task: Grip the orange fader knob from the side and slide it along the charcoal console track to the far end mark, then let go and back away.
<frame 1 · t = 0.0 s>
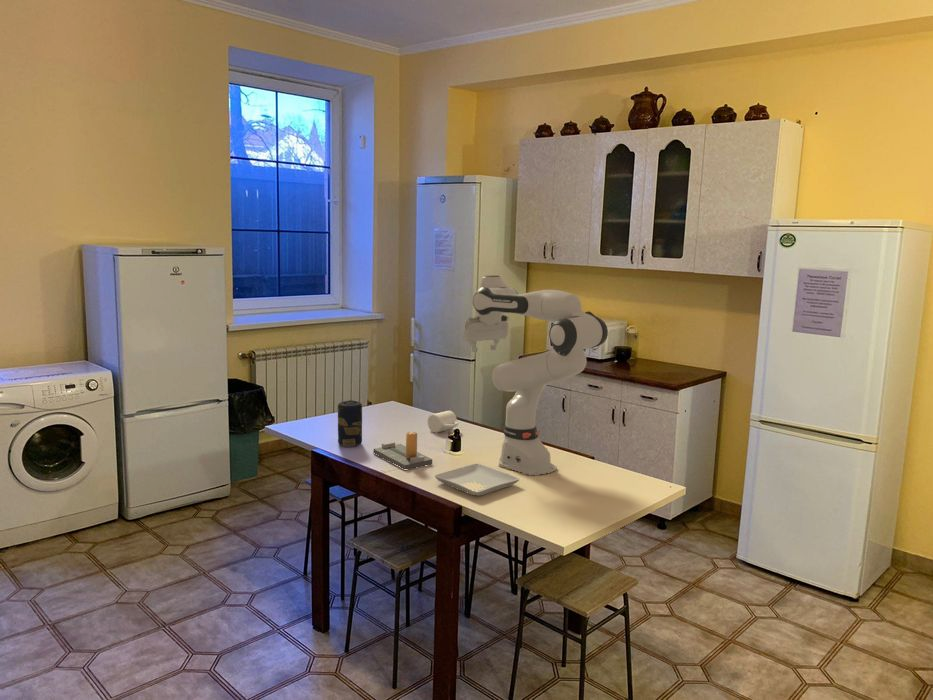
hand: (483, 350, 278), 39 cm above the table, tool pointing down, fingers open, 8 cm apart
salad plate: (476, 486, 242), on the table
console: (402, 459, 266), on the table
mug: (445, 432, 304), on the table
canister: (349, 445, 281), on the table
fader knob: (411, 444, 260), point 7 cm above the table, slide at -6.0 cm
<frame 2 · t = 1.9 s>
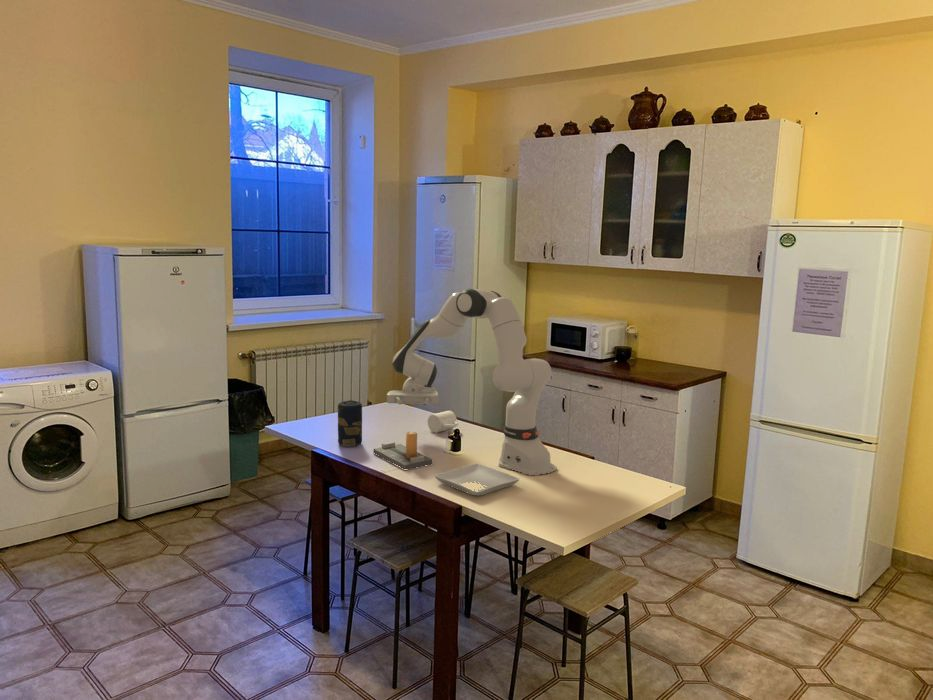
hand: (412, 402, 270), 20 cm above the table, tool horizontal, fingers open, 8 cm apart
nothing on the table moved.
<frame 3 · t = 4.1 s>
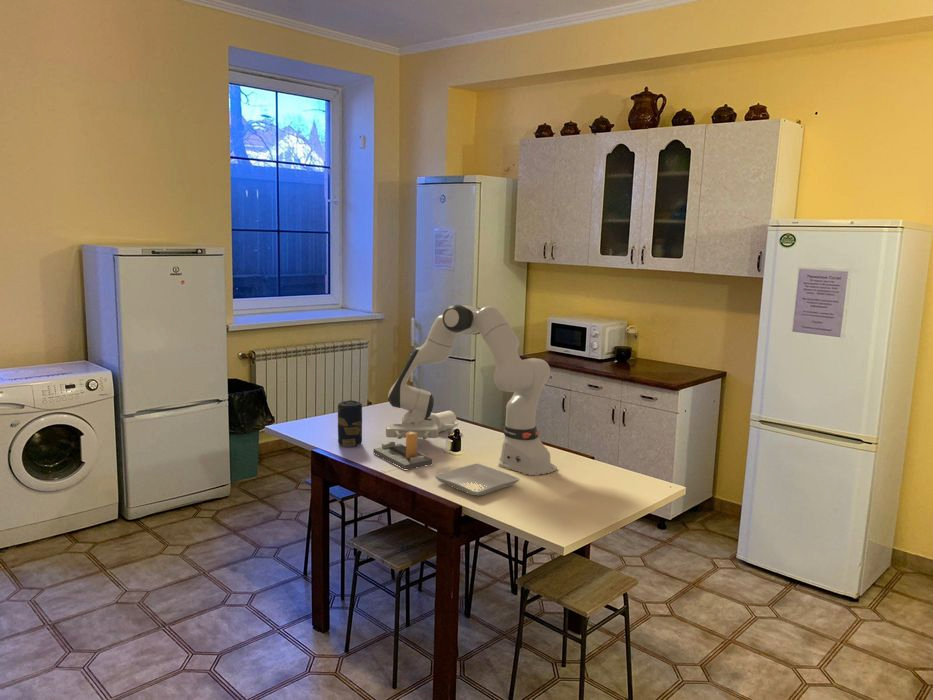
hand: (412, 437, 267), 8 cm above the table, tool horizontal, fingers open, 8 cm apart
nothing on the table moved.
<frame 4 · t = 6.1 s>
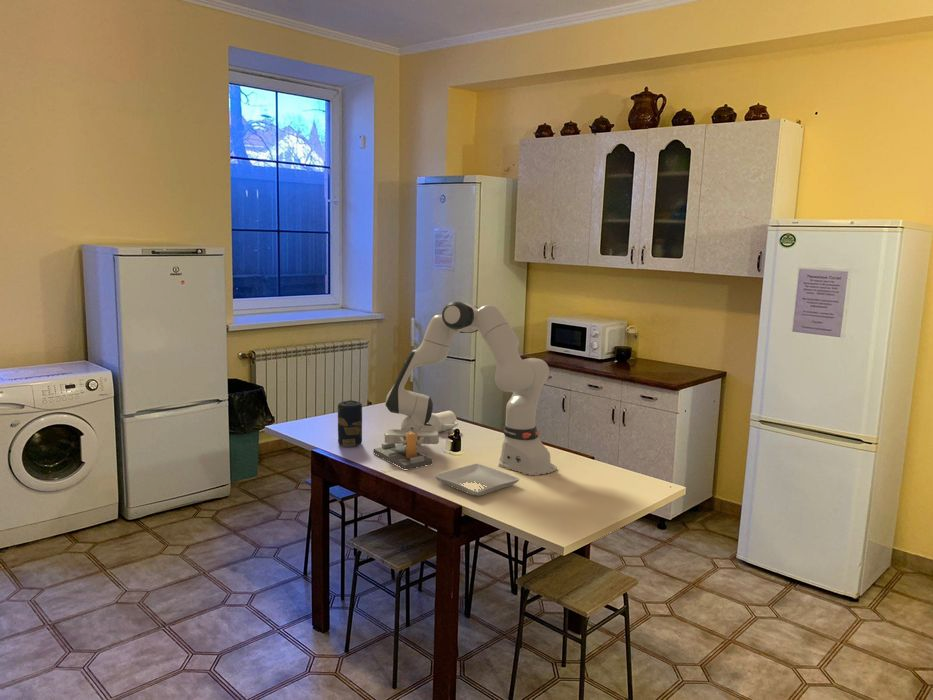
hand: (411, 443, 259), 8 cm above the table, tool horizontal, fingers closed on fader knob, 4 cm apart
fader knob: (411, 444, 260), point 7 cm above the table, slide at -6.0 cm, touching gripper
everything else where it was.
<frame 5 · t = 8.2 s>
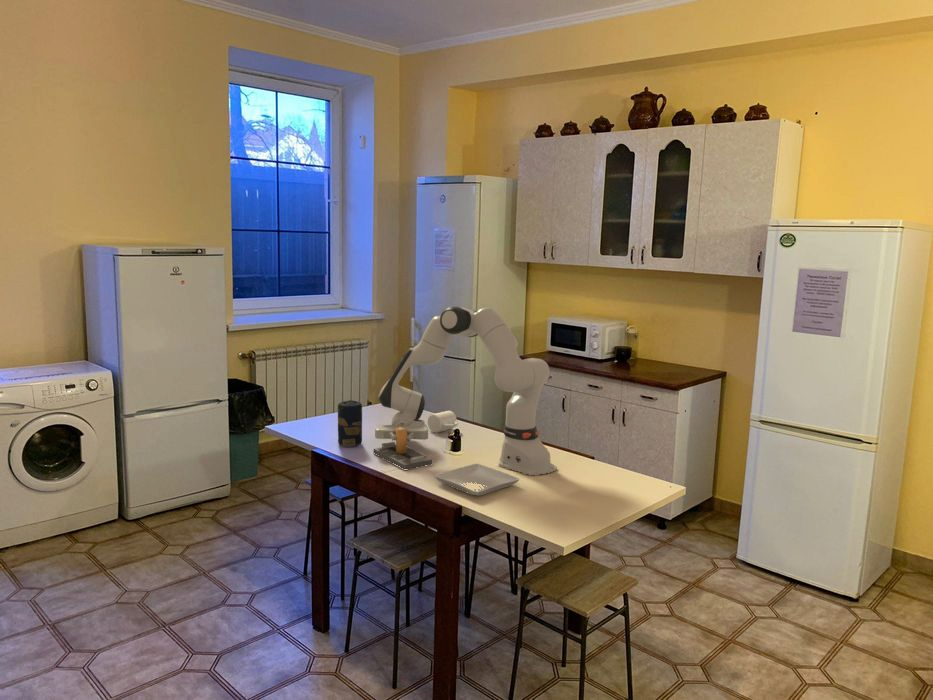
hand: (401, 438, 264), 8 cm above the table, tool horizontal, fingers closed on fader knob, 4 cm apart
fader knob: (401, 440, 265), point 7 cm above the table, slide at 0.9 cm, touching gripper
everything else where it was.
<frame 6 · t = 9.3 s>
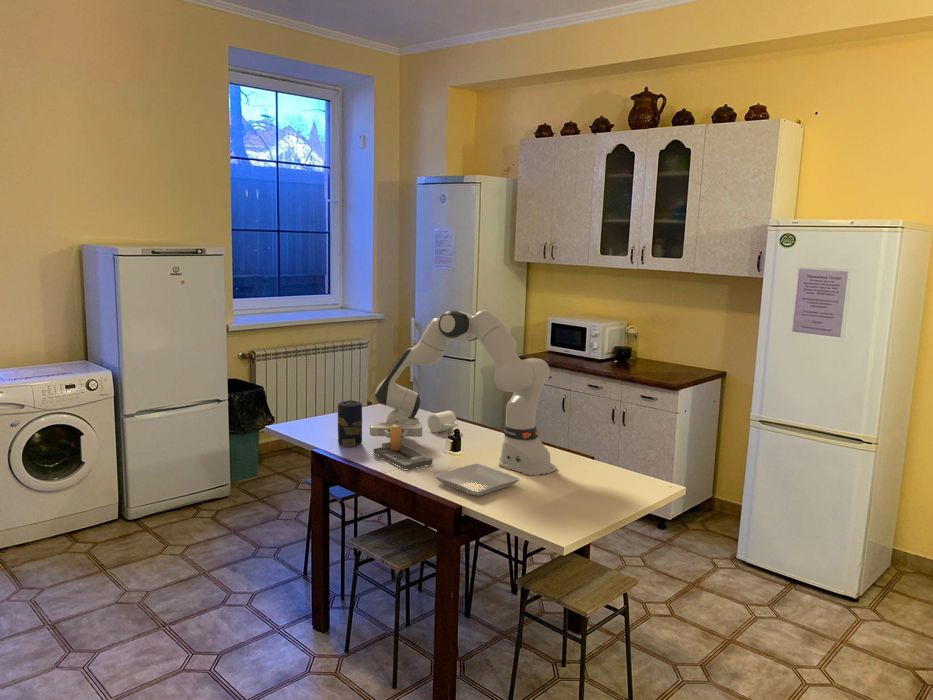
hand: (395, 435, 268), 8 cm above the table, tool horizontal, fingers closed on fader knob, 4 cm apart
fader knob: (395, 437, 269), point 7 cm above the table, slide at 5.0 cm, touching gripper
everything else where it was.
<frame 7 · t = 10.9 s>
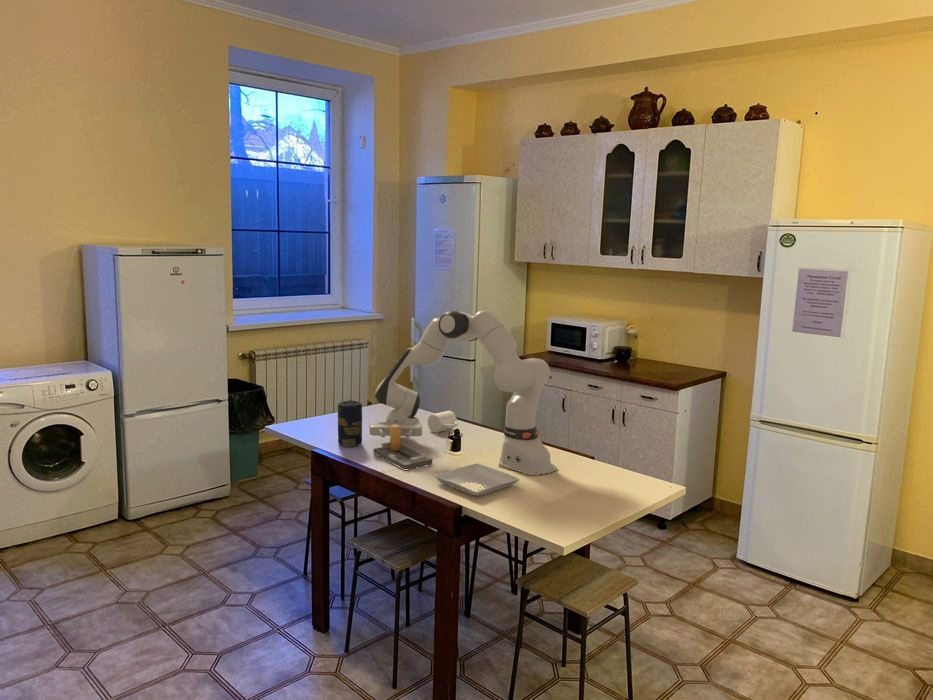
hand: (395, 435, 268), 8 cm above the table, tool horizontal, fingers open, 8 cm apart
fader knob: (395, 437, 269), point 7 cm above the table, slide at 5.0 cm
everything else where it was.
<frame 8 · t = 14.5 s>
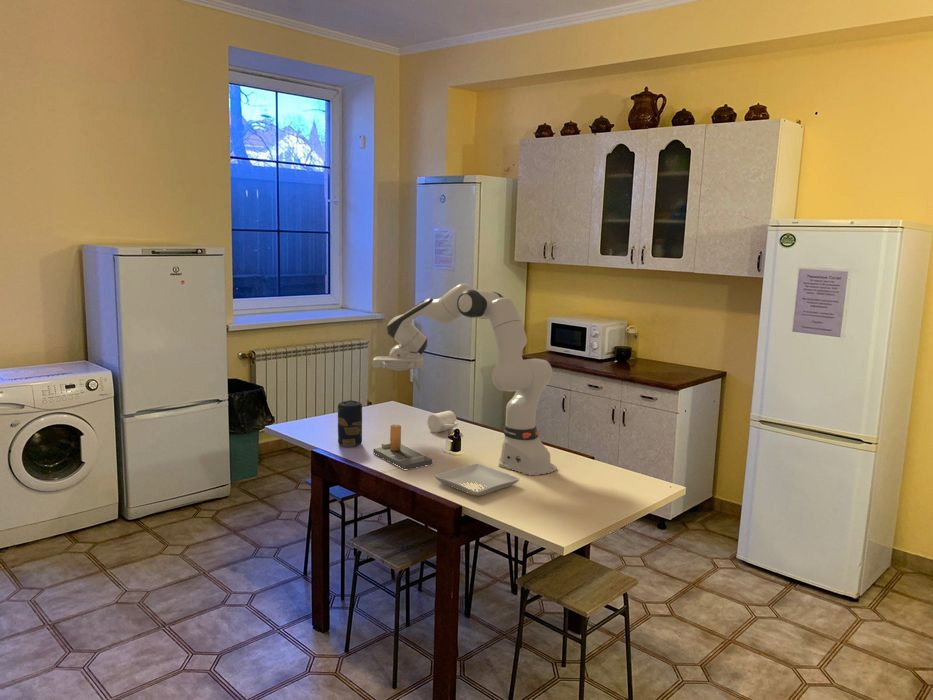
hand: (397, 366, 276), 32 cm above the table, tool horizontal, fingers open, 8 cm apart
nothing on the table moved.
at the end: fader knob slide at 5.0 cm; the gripper is holding nothing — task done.
